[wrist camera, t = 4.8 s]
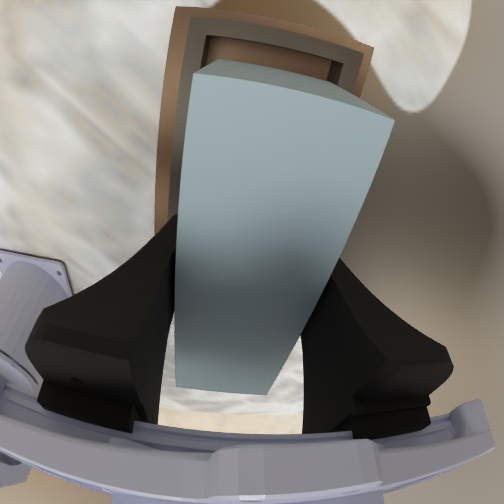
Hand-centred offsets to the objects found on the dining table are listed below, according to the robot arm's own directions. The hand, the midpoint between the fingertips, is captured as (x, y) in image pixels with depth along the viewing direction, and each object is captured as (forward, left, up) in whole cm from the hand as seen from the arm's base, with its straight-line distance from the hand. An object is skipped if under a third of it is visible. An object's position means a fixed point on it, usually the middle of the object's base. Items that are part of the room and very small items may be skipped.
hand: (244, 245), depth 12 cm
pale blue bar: (0, 0, -3) cm, 3 cm away
